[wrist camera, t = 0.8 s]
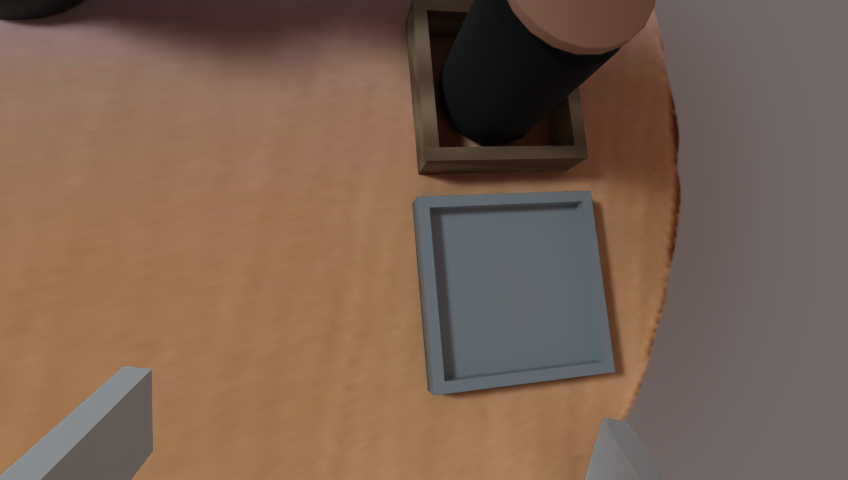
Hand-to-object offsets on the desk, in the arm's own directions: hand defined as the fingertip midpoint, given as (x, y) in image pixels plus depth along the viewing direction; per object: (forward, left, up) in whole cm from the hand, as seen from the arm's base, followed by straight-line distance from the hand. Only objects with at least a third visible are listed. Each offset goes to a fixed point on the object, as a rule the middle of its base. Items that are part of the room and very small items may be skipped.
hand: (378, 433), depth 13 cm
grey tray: (-4, +15, -27) cm, 31 cm away
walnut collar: (-23, +15, -27) cm, 39 cm away
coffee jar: (-23, +15, -27) cm, 39 cm away
